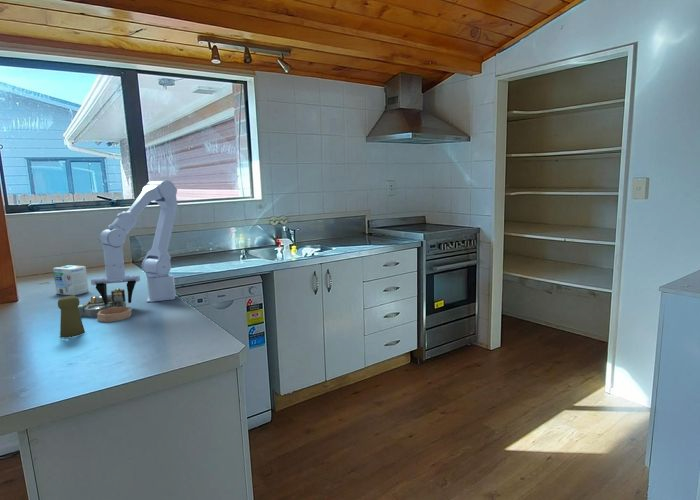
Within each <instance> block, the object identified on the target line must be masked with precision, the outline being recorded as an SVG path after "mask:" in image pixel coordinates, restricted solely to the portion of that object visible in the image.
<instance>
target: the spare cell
mask: <svg viewBox="0 0 700 500" xmlns="http://www.w3.org/2000/svg"><path fill="white" fill-rule="evenodd" d="M107 298H108V303H109V302H112V295H111V294H107ZM89 301H90V304H100V303H104V301H103V299H102V297H101V295H94V296H91V297H90V300H89Z"/></svg>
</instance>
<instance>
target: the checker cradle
mask: <svg viewBox="0 0 700 500" xmlns="http://www.w3.org/2000/svg"><path fill="white" fill-rule="evenodd" d="M84 305H85V304H79V306H78V310H79V313H80V317H81V318H82V317H88V318H96V317H97V313H98V312H99V311H101V310H104V309H108V308H111V304H106V305H105V304H104V303H102V304H94V305H90V306H87V307H85V306H84ZM96 306H106V307H102V308H97V309H90V308H92V307H96Z"/></svg>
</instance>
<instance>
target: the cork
mask: <svg viewBox="0 0 700 500" xmlns="http://www.w3.org/2000/svg"><path fill="white" fill-rule="evenodd" d="M79 305H80V298H78V297H77V295H74V296H72V295H66V296H64V297H61V298H59V299H58V301H57V307H58V309H59V310H60V323H59V324H60V326H59V327H60V328H59V330H60V331H59V333H60V334H59V335H60V336H59V337H60V338H64V339H65V338H73V337H78V336H82V335H84V334H85V333H86V330H85V327H84V325H83V320H82V317H80V313H79V310H78V306H79Z"/></svg>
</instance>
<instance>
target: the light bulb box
mask: <svg viewBox="0 0 700 500" xmlns="http://www.w3.org/2000/svg"><path fill="white" fill-rule="evenodd" d="M52 269H53V270H52V271H53V277H54V287H55V294H58V295H65V296H78V295H83V294H85V293H89V292H90V291H89V283H88V275H87V267H86V266H85V265H71V264H67V265H63V266H57V267H53V268H52Z"/></svg>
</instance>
